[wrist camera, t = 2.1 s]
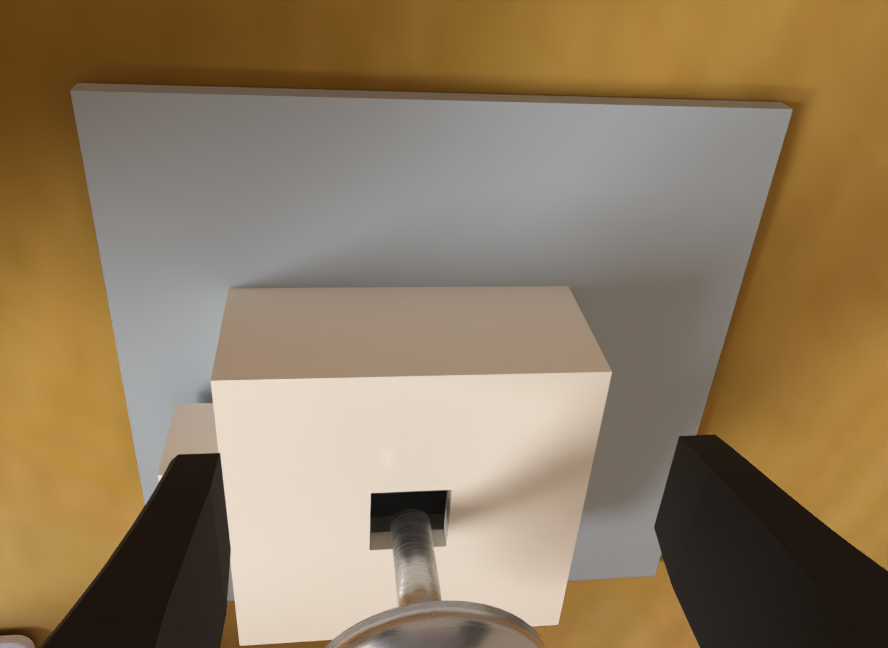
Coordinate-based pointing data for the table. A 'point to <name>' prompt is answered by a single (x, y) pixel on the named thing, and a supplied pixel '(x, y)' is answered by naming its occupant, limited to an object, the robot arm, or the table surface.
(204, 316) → the board
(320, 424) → the box
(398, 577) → the plunger
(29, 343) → the table surface
